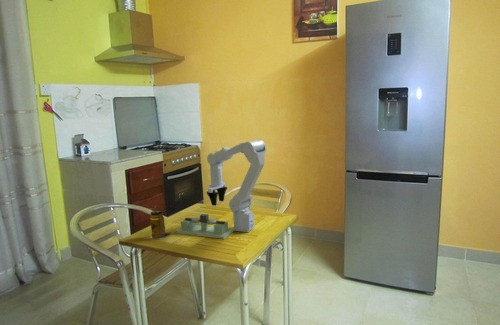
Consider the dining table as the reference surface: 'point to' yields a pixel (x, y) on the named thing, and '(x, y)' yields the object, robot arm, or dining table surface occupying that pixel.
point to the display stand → (205, 229)
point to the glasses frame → (205, 220)
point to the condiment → (158, 225)
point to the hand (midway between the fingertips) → (217, 203)
